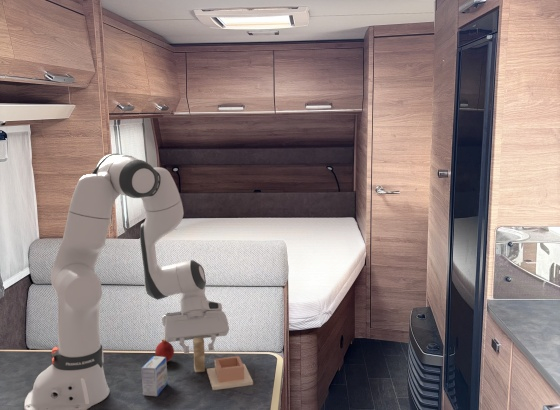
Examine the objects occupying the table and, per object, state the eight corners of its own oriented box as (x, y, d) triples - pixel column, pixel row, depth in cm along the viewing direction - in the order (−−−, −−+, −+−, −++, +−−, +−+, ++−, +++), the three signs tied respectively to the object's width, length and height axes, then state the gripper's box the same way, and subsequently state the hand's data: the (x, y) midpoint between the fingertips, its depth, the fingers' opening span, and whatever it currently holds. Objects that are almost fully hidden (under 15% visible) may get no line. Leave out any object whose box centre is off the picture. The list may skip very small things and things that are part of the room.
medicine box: (157, 397, 161) (155, 368, 159) (142, 395, 162) (140, 367, 160) (167, 383, 168) (166, 356, 167) (153, 382, 169) (152, 355, 168)
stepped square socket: (212, 390, 164) (212, 374, 164) (206, 371, 176) (206, 356, 175) (253, 384, 168) (252, 368, 167) (244, 366, 179) (244, 352, 178)
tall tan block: (195, 372, 175) (194, 342, 174) (194, 368, 178) (193, 338, 176) (205, 371, 176) (204, 340, 174) (203, 367, 179) (202, 337, 177)
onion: (167, 356, 186) (166, 334, 185) (177, 362, 182) (177, 338, 181) (152, 362, 182) (151, 339, 181) (162, 368, 178) (161, 344, 177)
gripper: (161, 309, 178) (165, 351, 170) (226, 303, 183) (232, 343, 176) (161, 317, 183) (164, 359, 175) (224, 311, 188) (230, 351, 181)
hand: (199, 351), depth 175 cm, fingers open, 6 cm apart
